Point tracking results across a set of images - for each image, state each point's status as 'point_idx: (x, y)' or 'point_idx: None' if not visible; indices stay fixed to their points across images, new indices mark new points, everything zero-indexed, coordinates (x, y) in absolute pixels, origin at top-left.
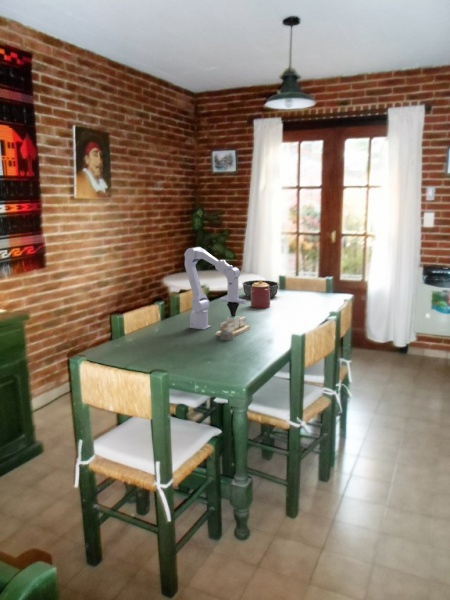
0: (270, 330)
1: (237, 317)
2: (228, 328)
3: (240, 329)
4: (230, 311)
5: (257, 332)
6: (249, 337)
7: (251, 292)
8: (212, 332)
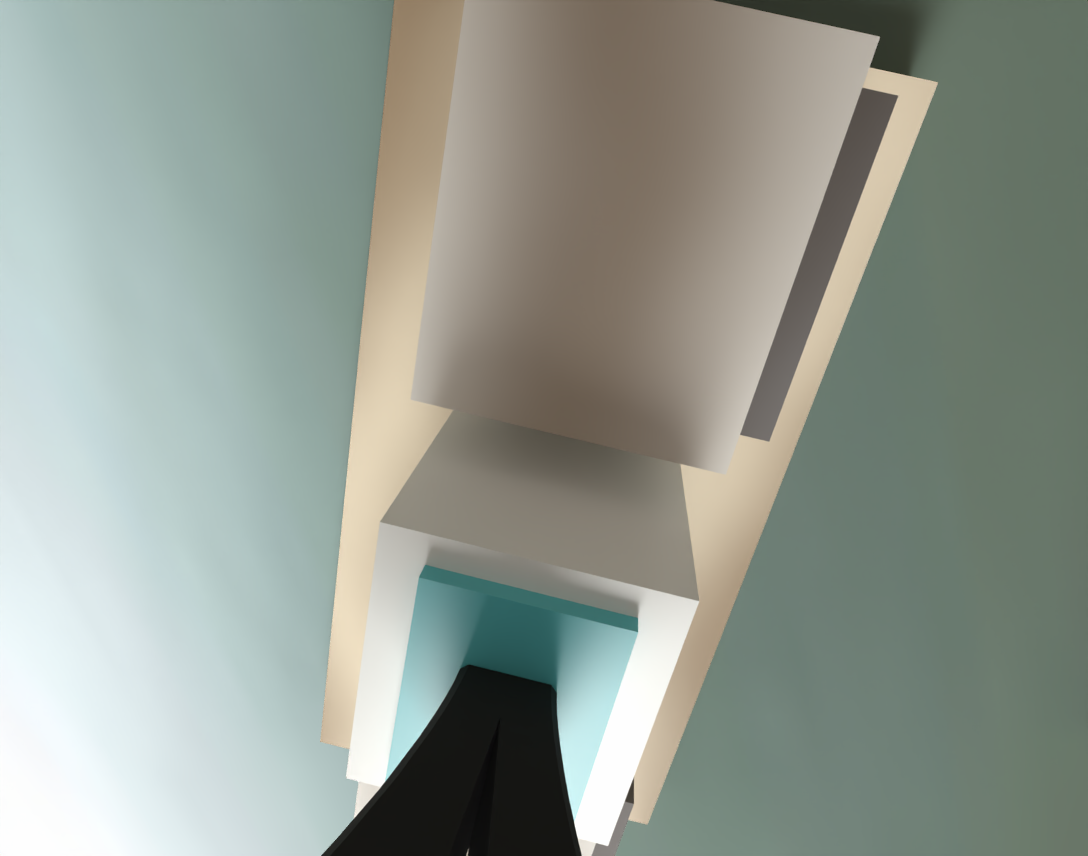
0: (6, 654)
1: (364, 689)
2: None
3: (393, 492)
4: (553, 846)
5: (125, 513)
6: (86, 127)
7: None
8: (1026, 321)
